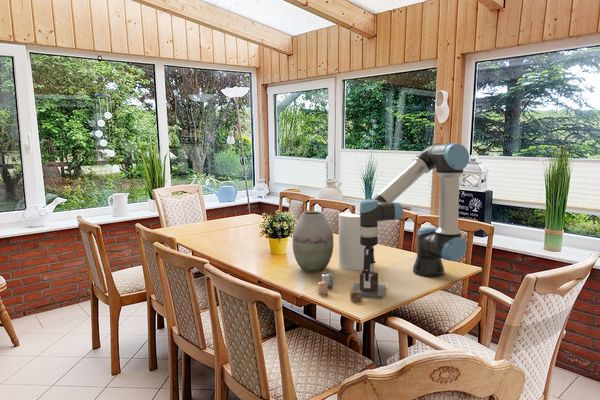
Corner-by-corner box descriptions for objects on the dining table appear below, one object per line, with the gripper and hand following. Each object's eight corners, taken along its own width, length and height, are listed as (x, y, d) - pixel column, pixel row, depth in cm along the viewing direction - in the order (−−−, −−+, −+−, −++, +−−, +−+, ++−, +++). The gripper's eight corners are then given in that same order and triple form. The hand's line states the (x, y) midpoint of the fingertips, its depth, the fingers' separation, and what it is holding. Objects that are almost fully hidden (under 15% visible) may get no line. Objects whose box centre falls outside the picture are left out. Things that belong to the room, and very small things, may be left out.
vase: (299, 262, 235) (298, 209, 231) (337, 265, 228) (337, 210, 224) (287, 273, 214) (286, 215, 210) (328, 277, 208) (328, 217, 204)
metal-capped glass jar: (333, 285, 196) (333, 273, 195) (331, 289, 191) (331, 276, 190) (323, 284, 197) (323, 272, 196) (320, 288, 192) (320, 275, 191)
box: (366, 286, 191) (366, 270, 190) (378, 288, 187) (378, 272, 186) (359, 289, 186) (359, 273, 185) (371, 292, 182) (371, 276, 181)
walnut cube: (359, 298, 179) (359, 289, 179) (360, 302, 175) (360, 292, 175) (350, 298, 180) (350, 289, 179) (351, 302, 176) (351, 292, 175)
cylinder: (352, 272, 215) (352, 218, 212) (332, 264, 230) (331, 213, 226) (377, 266, 225) (378, 214, 221) (356, 259, 239) (357, 210, 235)
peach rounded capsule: (328, 292, 187) (328, 281, 186) (326, 295, 183) (326, 284, 182) (319, 291, 188) (319, 281, 187) (317, 295, 184) (317, 283, 183)
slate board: (385, 287, 192) (385, 285, 191) (383, 298, 178) (383, 296, 178) (354, 285, 195) (354, 283, 195) (350, 296, 182) (350, 293, 182)
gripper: (363, 229, 196) (364, 273, 199) (356, 242, 173) (356, 291, 176) (380, 229, 194) (380, 274, 197) (374, 242, 171) (374, 293, 174)
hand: (369, 282), depth 186 cm, fingers open, 13 cm apart
